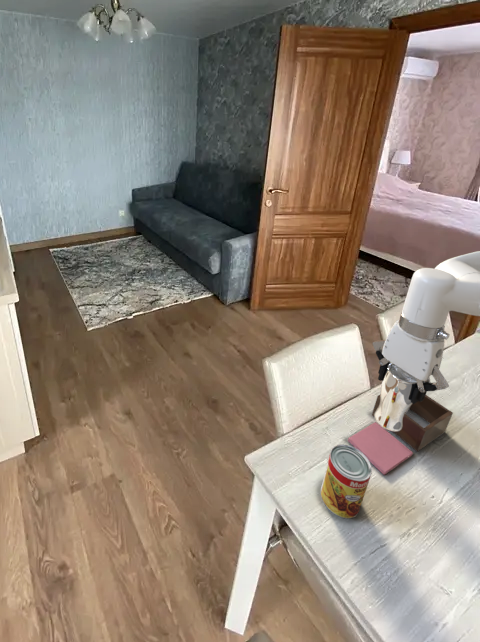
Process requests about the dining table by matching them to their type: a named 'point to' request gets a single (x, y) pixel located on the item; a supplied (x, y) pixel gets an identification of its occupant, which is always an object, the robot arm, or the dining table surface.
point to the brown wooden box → (430, 413)
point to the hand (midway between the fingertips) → (398, 388)
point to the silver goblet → (395, 398)
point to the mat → (380, 447)
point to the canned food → (345, 480)
